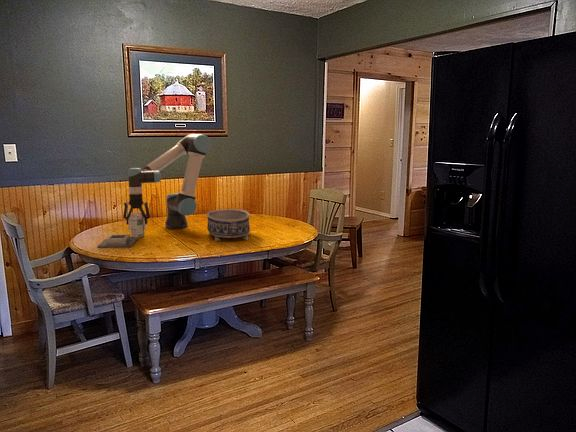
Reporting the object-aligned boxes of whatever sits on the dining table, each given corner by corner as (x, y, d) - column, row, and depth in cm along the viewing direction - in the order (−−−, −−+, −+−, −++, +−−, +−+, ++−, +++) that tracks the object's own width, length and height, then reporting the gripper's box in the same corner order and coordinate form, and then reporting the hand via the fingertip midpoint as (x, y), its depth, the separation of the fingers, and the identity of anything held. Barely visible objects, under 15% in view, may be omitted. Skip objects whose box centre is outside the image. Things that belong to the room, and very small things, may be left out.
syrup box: (137, 237, 272) (136, 214, 270) (130, 236, 275) (129, 213, 273) (144, 236, 277) (143, 213, 275) (138, 234, 280) (137, 212, 278)
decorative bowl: (256, 243, 265) (257, 218, 262) (212, 245, 257) (211, 220, 254) (242, 228, 305) (242, 206, 302) (202, 230, 297) (202, 208, 294)
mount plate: (137, 239, 268) (137, 233, 267) (130, 247, 250) (130, 240, 249) (106, 240, 266) (106, 233, 265) (97, 247, 248) (97, 240, 247)
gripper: (116, 194, 266) (118, 231, 271) (152, 194, 269) (153, 230, 273) (119, 192, 274) (121, 228, 278) (154, 192, 276) (155, 228, 280)
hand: (137, 229), depth 276 cm, fingers open, 8 cm apart
